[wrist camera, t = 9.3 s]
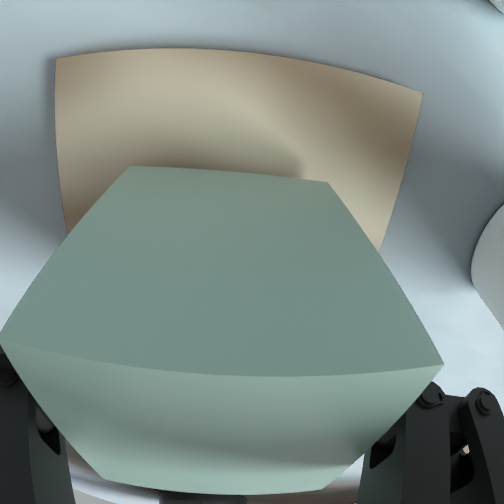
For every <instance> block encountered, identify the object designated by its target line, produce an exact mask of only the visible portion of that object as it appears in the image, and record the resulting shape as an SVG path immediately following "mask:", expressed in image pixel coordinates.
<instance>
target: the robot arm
mask: <svg viewBox="0 0 504 504" xmlns="http://www.w3.org/2000/svg"><path fill="white" fill-rule="evenodd" d="M467 445H468V447H469V451H470V452H469V453H468V454H466V453H465V452H464V451H463V448H464V447H465V446H467ZM0 504H76V503H75V499H74V494H73V489H72V484H71V479H70V473H69V467H68V460H67V453H66V446H65V437H64V436H63V435H62V433H61V432H60V431H59V430H58V429H57V427H56V426H55V425H54V424H53V422H52V421H51V420H50V419H49V417H48V416H47V415H46V413H45V412H44V411H43V409H42V408H41V407H40V405H39V404H38V403H37V401H36V400H35V398H34V397H33V396H32V394H31V393H30V391H29V390H28V388H27V387H26V385H25V384H24V382H23V381H22V379H21V378H20V376H19V375H18V373H17V372H16V370H15V368H14V367H13V365H12V364H11V362H10V360H9V359H8V357H7V355H6V353H5V352H4V350H3V348H2V346H1V345H0ZM159 504H247V499H246V498H245V497H242V496H239V495H227V494H203V493H189V492H178V491H165V492H162V493H160V498H159ZM356 504H504V416H503V413H502V411H501V408H500V405H499V403H498V401H497V399H496V397H495V396H494V395H493V394H492V393H491V392H490V391H489V390H487V389H485V388H479V387H477V388H475V389H472V391H471V392H470V393H469V394H468V395H467V396H466V397H458V396H451V395H445V394H444V392H443V391H442V389H441V388H440V387H439V386H438V385H437V384H435V383H434V382H432V381H431V382H430V383H429V385H428V386H427V387H426V388H425V389H424V391H423V392H422V393H421V394H420V395H419V397H418V398H417V399H416V400H415V401H414V402H413V404H412V405H411V406H410V407H409V408H408V409H407V410H406V411H405V413H404V414H403V415H402V416H401V417H400V418H399V419H398V420H397V421H396V422H395V423H394V424H393V425H392V426H391V427H390V429H389V430H388V431H387V432H386V433H385V434H384V435H383V436H382V437H381V438H380V439H379V440H378V441H377V442H376V443H375V444H373V445H372V446H371V447H370V448H369V449H368V450H367V451H366V452H365V455H364V462H363V468H362V475H361V481H360V487H359V492H358V498H357V503H356Z"/></svg>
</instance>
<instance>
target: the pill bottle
mask: <svg viewBox="0 0 504 504" xmlns="http://www.w3.org/2000/svg"><path fill="white" fill-rule="evenodd" d="M471 277H472V282H473V285H474V287H475V289H476V291H477V292H478V294H479V296H480V297H481V299H482V300H483V301H484V303H485V304H486V305H487V307H488V308H489V310H490V311H491V312H492V314H493V315H494V317H495V318H496V319H497V321H498V322H499V324H500V325H501V327H502V328H503V330H504V205H503V206H502V207H501V208H500V209H499V210H498V211H497V212H496V213H495V214H494V216H493V217H492V218H491V220H490V221H489V222H488V224H487V226H486V227H485V229H484V231H483V232H482V234H481V236H480V238H479V241H478V243H477V245H476V248H475V251H474V254H473V258H472V264H471Z"/></svg>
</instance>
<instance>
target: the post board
mask: <svg viewBox="0 0 504 504" xmlns="http://www.w3.org/2000/svg"><path fill="white" fill-rule="evenodd" d="M422 96H423V93H421V92H418V91H415V90H413V89H410V88H407V87H404V86H401V85H398V84H395V83H392V82H389V81H386V80H382V79H379V78H376V77H372V76H369V75H365V74H361V73H358V72H354V71H350V70H346V69H342V68H338V67H333V66H329V65H324V64H319V63H315V62H309V61H304V60H299V59H293V58H287V57H280V56H274V55H266V54H258V53H250V52H240V51H228V50H213V49H188V48H157V49H132V50H118V51H107V52H97V53H89V54H81V55H74V56H68V57H62V58H56V70H55V129H56V147H57V160H58V171H59V180H60V189H61V197H62V204H63V211H64V217H65V223H66V229H67V234H69V233H70V232H71V231H72V230H73V228H74V227H75V226H76V225H77V224H78V222H79V221H80V220H81V219H82V218H83V216H84V215H85V214H86V213H87V212H88V211H89V209H90V208H91V207H92V206H93V205H94V204H95V203H96V202H97V200H98V199H99V198H100V197H101V196H102V195H103V194H104V193H105V192H106V190H107V189H108V188H109V187H110V186H111V185H112V184H113V183H114V182H115V181H116V180H117V179H118V178H119V177H120V176H121V175H122V173H123V172H124V171H125V170H126V169H127V168H128V167H129V166H150V167H173V168H191V169H206V170H220V171H232V172H244V173H254V174H264V175H273V176H282V177H291V178H299V179H307V180H315V181H322V182H328V183H329V185H330V186H331V187H332V188H333V190H334V191H335V192H336V194H337V195H338V196H339V198H340V199H341V200H342V202H343V203H344V205H345V206H346V207H347V209H348V210H349V211H350V213H351V214H352V216H353V217H354V218H355V220H356V221H357V223H358V224H359V225H360V227H361V228H362V230H363V231H364V233H365V234H366V235H367V237H368V238H369V240H370V241H371V243H372V244H373V246H374V247H375V249H376V250H377V252H378V253H379V250H380V247H381V244H382V241H383V239H384V236H385V233H386V230H387V227H388V224H389V221H390V218H391V215H392V212H393V209H394V205H395V202H396V199H397V196H398V192H399V189H400V186H401V182H402V179H403V175H404V172H405V168H406V164H407V161H408V157H409V153H410V149H411V145H412V141H413V137H414V133H415V129H416V125H417V120H418V116H419V111H420V106H421V101H422Z"/></svg>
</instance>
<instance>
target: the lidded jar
mask: <svg viewBox="0 0 504 504" xmlns="http://www.w3.org/2000/svg"><path fill="white" fill-rule="evenodd" d="M489 1H490V2H491V4H493V5H494V6H495V7H496V8H497V9H498V10H499V11H500V12H501V13H503V14H504V0H489Z"/></svg>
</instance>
